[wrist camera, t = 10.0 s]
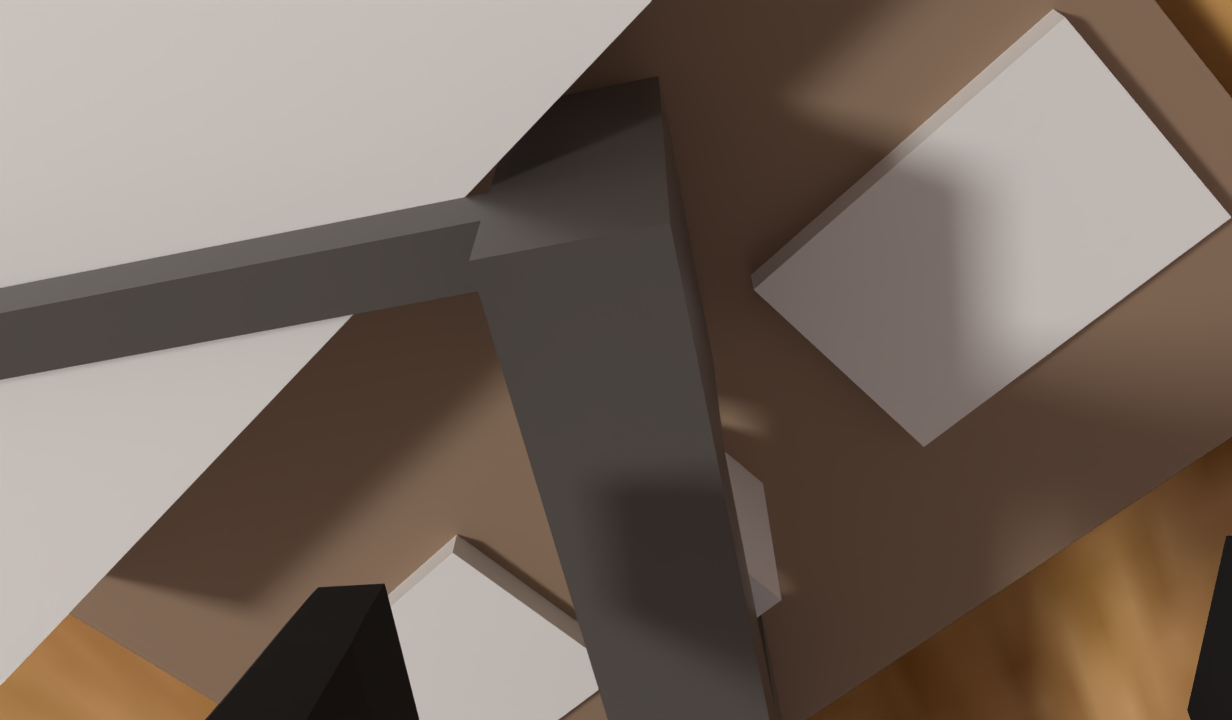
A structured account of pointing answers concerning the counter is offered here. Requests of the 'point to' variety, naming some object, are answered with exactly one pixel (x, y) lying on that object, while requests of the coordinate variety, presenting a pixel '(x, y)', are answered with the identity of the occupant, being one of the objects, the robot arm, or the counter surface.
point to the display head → (730, 292)
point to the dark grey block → (519, 374)
